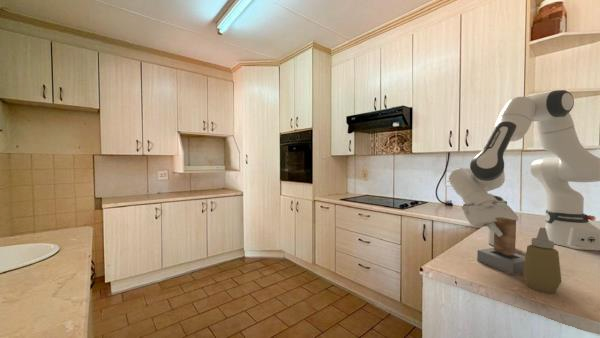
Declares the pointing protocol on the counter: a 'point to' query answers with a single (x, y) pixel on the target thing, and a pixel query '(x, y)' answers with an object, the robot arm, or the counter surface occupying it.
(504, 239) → the wooden block
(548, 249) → the squeeze bottle
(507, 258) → the grey hollow block
